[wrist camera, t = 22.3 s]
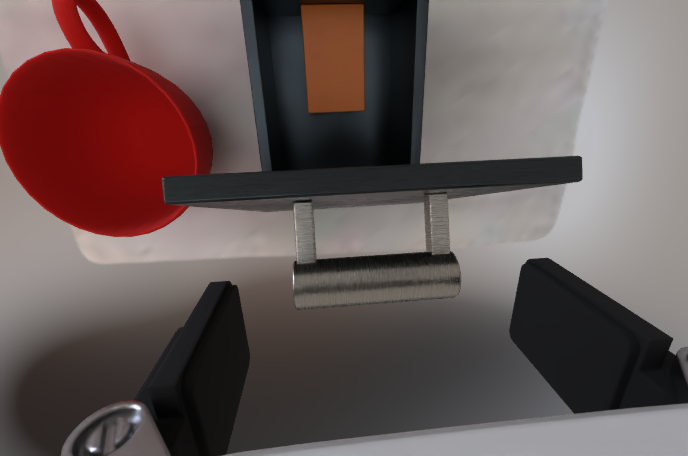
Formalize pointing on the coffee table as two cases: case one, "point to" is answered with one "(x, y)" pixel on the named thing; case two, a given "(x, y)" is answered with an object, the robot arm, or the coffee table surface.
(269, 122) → the bin
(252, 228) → the coffee table surface
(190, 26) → the coffee table surface
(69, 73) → the ceramic cup
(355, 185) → the bin lid
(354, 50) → the orange block
